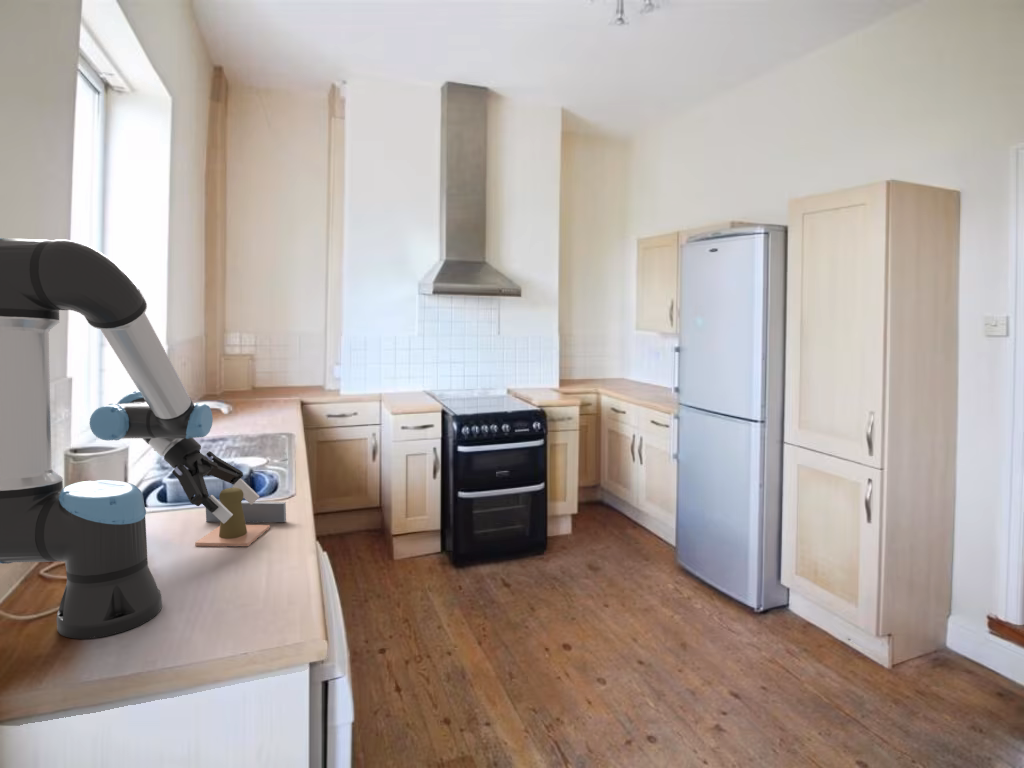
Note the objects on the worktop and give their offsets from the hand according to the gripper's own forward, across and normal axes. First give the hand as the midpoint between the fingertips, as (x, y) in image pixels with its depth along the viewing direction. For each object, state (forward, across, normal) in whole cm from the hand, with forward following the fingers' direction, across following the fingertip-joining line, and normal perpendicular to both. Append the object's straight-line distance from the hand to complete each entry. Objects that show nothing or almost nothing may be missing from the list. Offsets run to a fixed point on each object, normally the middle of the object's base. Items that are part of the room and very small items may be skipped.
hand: (242, 509), depth 141 cm
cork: (+3, 0, -6) cm, 7 cm away
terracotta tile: (+3, 0, -6) cm, 7 cm away
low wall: (+2, -10, -8) cm, 13 cm away
